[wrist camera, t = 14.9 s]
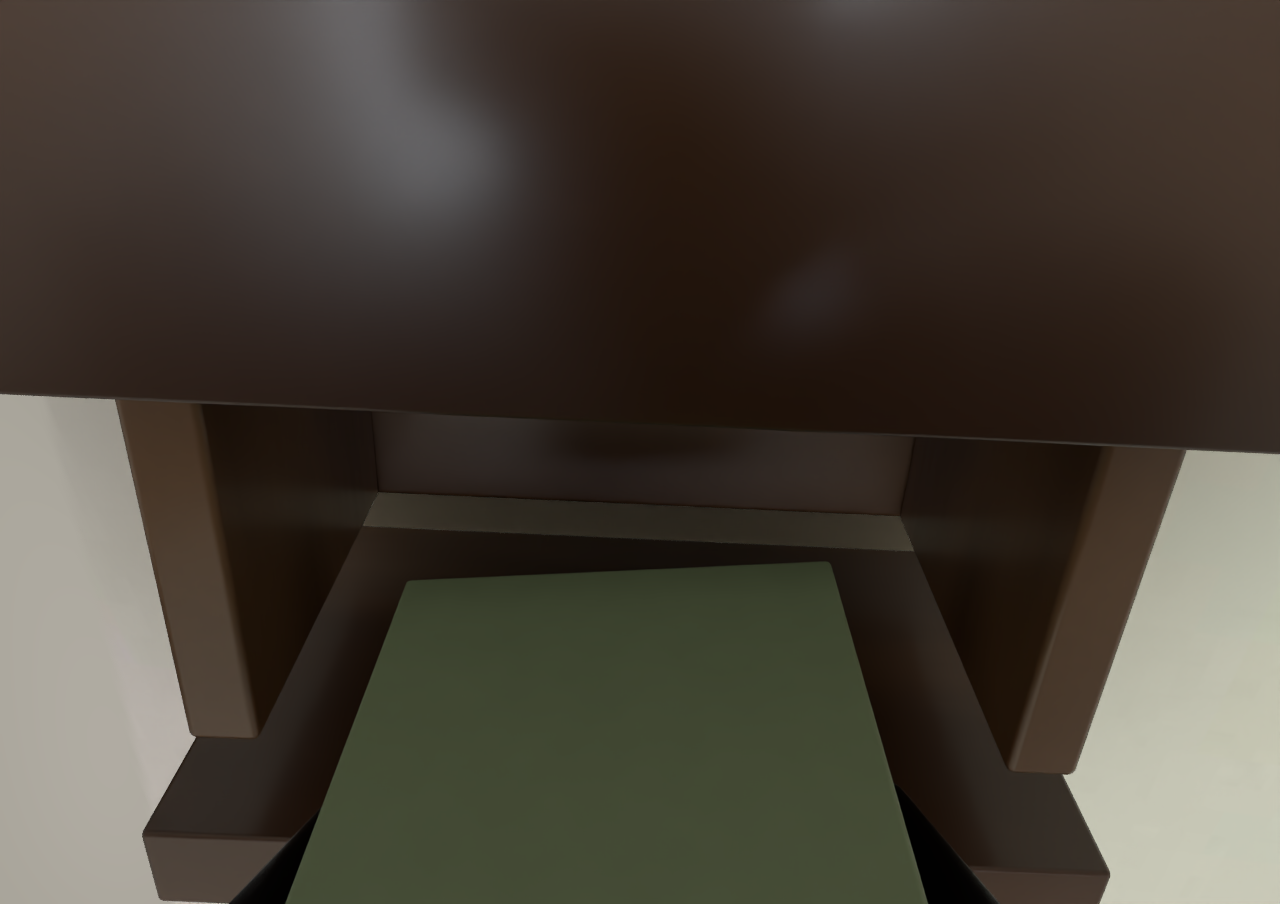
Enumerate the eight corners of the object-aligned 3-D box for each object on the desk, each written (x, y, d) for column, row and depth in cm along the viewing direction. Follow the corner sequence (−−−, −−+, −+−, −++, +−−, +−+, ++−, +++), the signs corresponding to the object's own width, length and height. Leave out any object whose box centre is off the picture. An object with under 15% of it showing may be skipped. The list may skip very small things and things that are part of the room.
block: (467, 867, 11) (380, 1301, 8) (406, 578, 9) (254, 974, 6) (821, 855, 11) (900, 1292, 7) (831, 558, 9) (943, 953, 6)
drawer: (898, 789, 20) (1003, 1150, 14) (347, 766, 20) (217, 1120, 14) (1157, -303, 12) (1684, -549, 6) (204, -357, 12) (-276, -668, 6)
